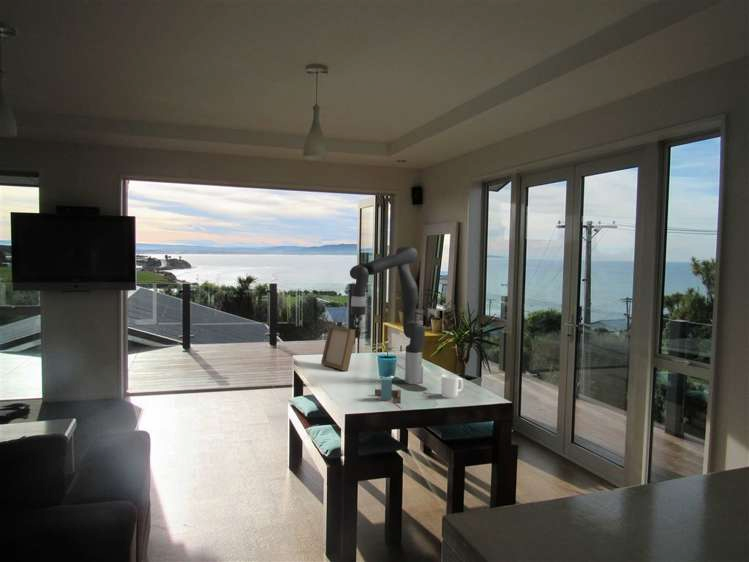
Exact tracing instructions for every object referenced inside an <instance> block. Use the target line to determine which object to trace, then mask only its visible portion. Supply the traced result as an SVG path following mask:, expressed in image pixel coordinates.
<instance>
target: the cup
mask: <svg viewBox="0 0 749 562" xmlns="http://www.w3.org/2000/svg"><path fill="white" fill-rule="evenodd" d="M459 381H460V384H461V386H460V388H459ZM463 389H464V379H463V378H461V377H459V376H458V375H456V374H442V375H441V391H440V393H441V396H442V398H446V399H455V398H458V397H459V393H460V392H462V390H463Z"/></svg>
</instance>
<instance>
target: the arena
mask: <svg viewBox="0 0 749 562" xmlns="http://www.w3.org/2000/svg"><path fill="white" fill-rule="evenodd" d="M401 394H402V390H401V389H392V395H391V400H381V388H380V389H379V388H378V389H377V388H374V396H375V397H379V399H378V400H379V401H378V402H394V397H397V404H401Z"/></svg>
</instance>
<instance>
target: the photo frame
mask: <svg viewBox="0 0 749 562" xmlns="http://www.w3.org/2000/svg"><path fill="white" fill-rule="evenodd" d="M325 339H326V340H325V345H324V348H323V353H322V358H321V361H320V364H321V365H323V366H327V367H330V368H334V369H337V370H341V371H345V372H349V367H350V362H351V357H352V352H353V348H354V344H355V339H356V338H355V330H354V329H352V328H347V327H343V326H337V325H332V324H329V326H328V330H327V335H326V338H325Z"/></svg>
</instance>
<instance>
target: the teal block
mask: <svg viewBox="0 0 749 562" xmlns="http://www.w3.org/2000/svg"><path fill="white" fill-rule="evenodd" d="M392 382H393V377H389V376H388V377H385V376H382V377H381V383H380V385H381V386H380V387H381V388H380V389H381V396H380V397H381V400H391V397H392V396H391V395H392V390H393V389H392V388H393V387H392V384H393V383H392Z"/></svg>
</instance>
